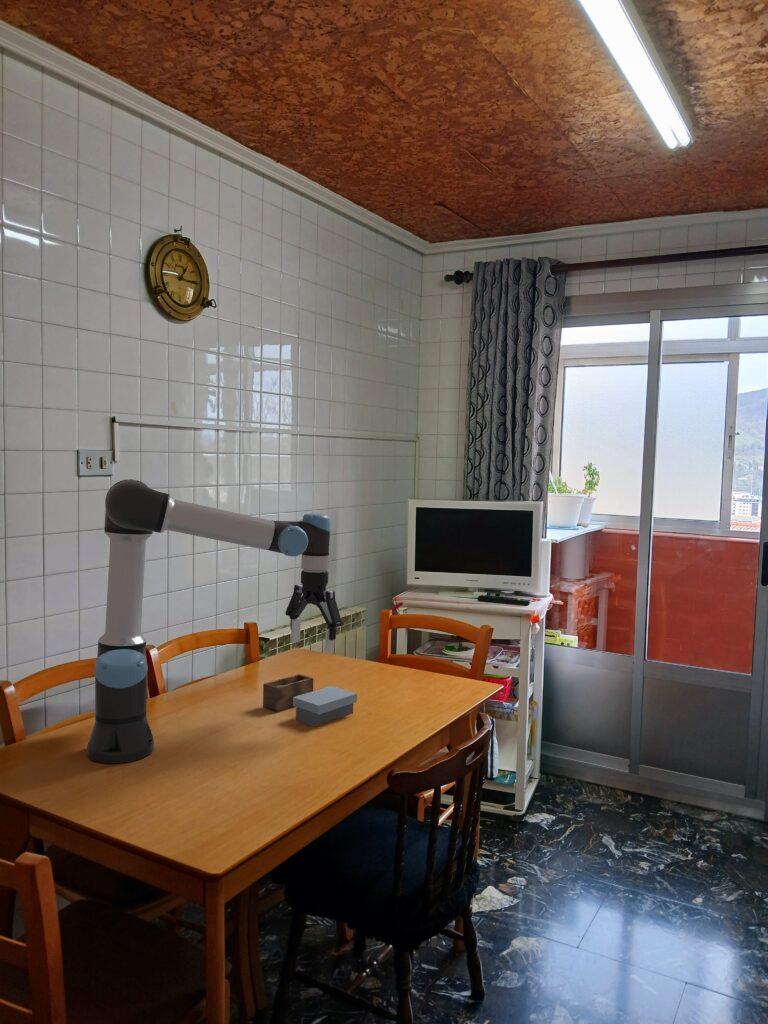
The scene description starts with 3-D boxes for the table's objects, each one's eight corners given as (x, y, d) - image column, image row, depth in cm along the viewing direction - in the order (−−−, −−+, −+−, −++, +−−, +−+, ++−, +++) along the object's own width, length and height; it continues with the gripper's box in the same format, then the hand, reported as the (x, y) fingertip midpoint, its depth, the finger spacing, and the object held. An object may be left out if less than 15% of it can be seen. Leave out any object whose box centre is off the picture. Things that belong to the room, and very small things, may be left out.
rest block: (312, 727, 202) (312, 713, 202) (295, 721, 207) (296, 707, 206) (353, 712, 215) (353, 700, 214) (336, 707, 219) (337, 695, 218)
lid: (318, 714, 201) (318, 705, 201) (292, 705, 208) (293, 697, 208) (356, 701, 213) (357, 693, 213) (331, 694, 219) (331, 685, 219)
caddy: (276, 712, 213) (277, 688, 213) (262, 707, 217) (263, 683, 216) (312, 701, 224) (313, 678, 223) (298, 696, 228) (299, 674, 227)
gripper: (357, 574, 203) (354, 653, 205) (294, 563, 220) (291, 636, 221) (337, 577, 198) (334, 657, 199) (274, 565, 214) (272, 640, 215)
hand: (312, 646), depth 210 cm, fingers open, 13 cm apart
